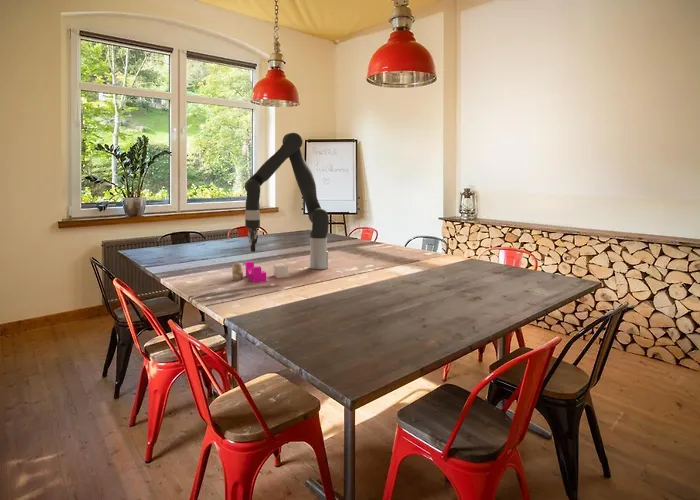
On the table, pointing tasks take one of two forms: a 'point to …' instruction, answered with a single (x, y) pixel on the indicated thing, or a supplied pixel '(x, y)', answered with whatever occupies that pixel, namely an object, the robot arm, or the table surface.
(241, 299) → the table surface
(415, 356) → the table surface
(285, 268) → the beige cube
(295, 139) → the robot arm
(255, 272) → the toy block
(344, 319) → the table surface
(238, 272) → the birch cylinder
